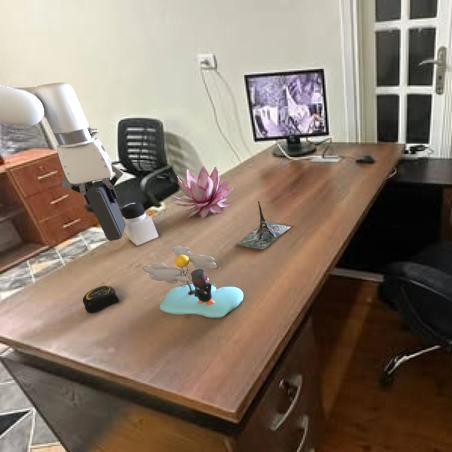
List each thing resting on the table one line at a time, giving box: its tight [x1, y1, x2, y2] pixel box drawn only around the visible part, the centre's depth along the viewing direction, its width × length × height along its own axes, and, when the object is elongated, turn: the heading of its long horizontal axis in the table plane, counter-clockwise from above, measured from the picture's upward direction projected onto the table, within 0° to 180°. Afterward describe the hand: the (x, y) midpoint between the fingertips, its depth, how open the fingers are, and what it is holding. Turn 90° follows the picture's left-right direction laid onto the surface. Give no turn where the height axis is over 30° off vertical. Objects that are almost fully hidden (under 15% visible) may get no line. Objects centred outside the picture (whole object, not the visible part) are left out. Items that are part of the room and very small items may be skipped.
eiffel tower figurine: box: [236, 199, 292, 250], centre depth 106 cm, size 15×10×13 cm
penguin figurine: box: [142, 245, 244, 319], centre depth 80 cm, size 20×11×15 cm, turn 75°
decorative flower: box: [170, 165, 235, 220], centre depth 125 cm, size 21×21×15 cm
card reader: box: [86, 180, 126, 242], centre depth 96 cm, size 9×4×15 cm, turn 19°
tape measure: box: [82, 285, 120, 315], centre depth 86 cm, size 7×7×4 cm
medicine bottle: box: [120, 202, 159, 247], centre depth 112 cm, size 7×7×12 cm
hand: (104, 203), depth 95 cm, fingers closed on card reader, 4 cm apart
